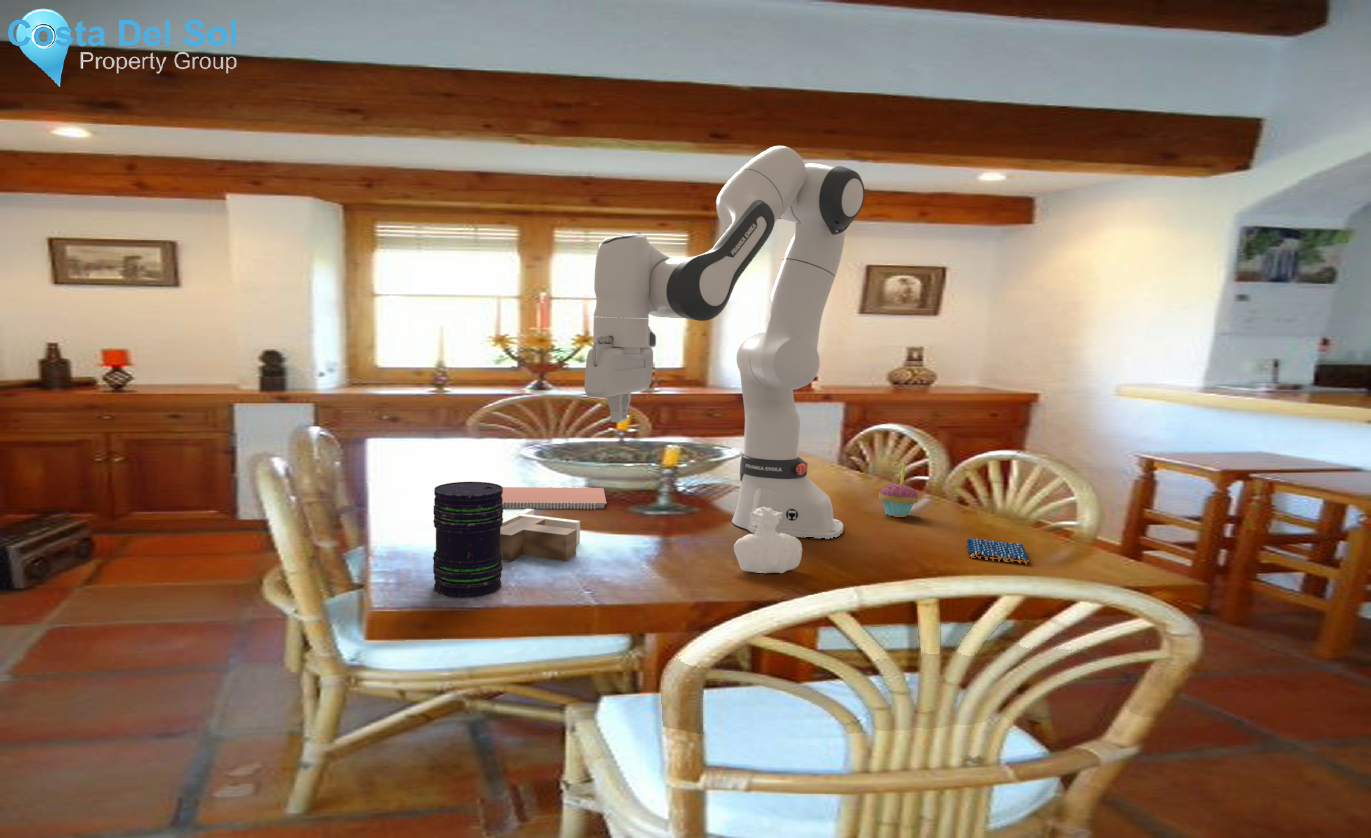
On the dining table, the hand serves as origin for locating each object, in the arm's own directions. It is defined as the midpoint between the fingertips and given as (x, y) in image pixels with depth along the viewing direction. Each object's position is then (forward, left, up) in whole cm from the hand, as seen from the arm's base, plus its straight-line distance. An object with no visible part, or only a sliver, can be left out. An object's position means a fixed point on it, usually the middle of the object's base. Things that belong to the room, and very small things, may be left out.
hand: (618, 421), depth 129 cm
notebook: (+32, -36, -25) cm, 54 cm away
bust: (-24, -8, -24) cm, 35 cm away
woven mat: (-62, -35, -25) cm, 75 cm away
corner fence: (+17, 0, -24) cm, 29 cm away
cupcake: (-43, -59, -24) cm, 77 cm away
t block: (+14, +1, -24) cm, 28 cm away
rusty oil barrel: (+15, +20, -24) cm, 35 cm away
